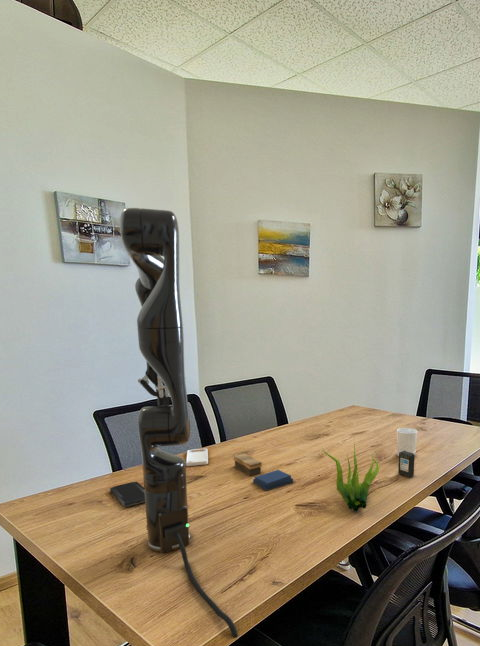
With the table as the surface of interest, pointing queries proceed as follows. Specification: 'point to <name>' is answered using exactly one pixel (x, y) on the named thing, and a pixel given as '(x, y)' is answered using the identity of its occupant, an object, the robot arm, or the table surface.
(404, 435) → the white cup
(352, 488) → the decorative plant
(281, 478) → the folded cloth
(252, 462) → the tan two-tone block
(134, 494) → the phone
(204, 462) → the phone case
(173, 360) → the robot arm
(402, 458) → the ink cartridge
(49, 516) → the table surface
